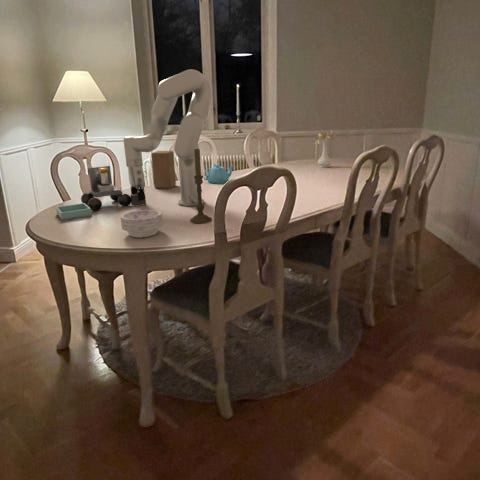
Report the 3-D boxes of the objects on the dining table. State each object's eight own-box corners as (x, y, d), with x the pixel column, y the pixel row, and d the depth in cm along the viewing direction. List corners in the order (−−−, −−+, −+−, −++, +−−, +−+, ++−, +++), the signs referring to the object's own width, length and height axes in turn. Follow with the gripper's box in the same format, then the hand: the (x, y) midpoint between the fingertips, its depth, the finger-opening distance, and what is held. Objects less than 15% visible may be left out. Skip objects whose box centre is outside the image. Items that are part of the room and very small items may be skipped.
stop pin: (111, 190, 202) (108, 168, 198) (102, 191, 200) (99, 169, 196) (108, 188, 205) (106, 167, 201) (100, 189, 203) (97, 168, 200)
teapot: (200, 183, 253) (199, 165, 250) (215, 178, 265) (214, 162, 262) (221, 185, 246) (220, 167, 243) (235, 180, 258) (234, 163, 254)
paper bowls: (150, 225, 172) (148, 206, 170) (171, 233, 162) (169, 213, 159) (115, 234, 163) (112, 214, 160) (135, 243, 152) (133, 222, 149)
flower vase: (308, 168, 293) (309, 130, 285) (323, 164, 306) (325, 128, 297) (324, 170, 284) (326, 131, 276) (339, 166, 297) (341, 129, 289)
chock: (146, 204, 207) (145, 194, 206) (134, 206, 204) (132, 195, 203) (143, 202, 211) (142, 192, 209) (131, 204, 208) (130, 194, 206)
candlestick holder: (203, 225, 171) (199, 149, 162) (185, 222, 176) (180, 148, 166) (216, 219, 179) (213, 146, 169) (198, 216, 183) (194, 145, 174)
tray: (91, 216, 189) (90, 208, 188) (62, 220, 183) (60, 212, 182) (85, 210, 199) (84, 203, 198) (57, 214, 193) (55, 207, 192)
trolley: (132, 205, 205) (128, 168, 199) (89, 212, 195) (83, 173, 189) (122, 199, 217) (118, 164, 212) (81, 205, 208) (76, 168, 202)
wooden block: (170, 188, 240) (167, 152, 233) (153, 188, 242) (150, 152, 235) (176, 185, 249) (173, 150, 243) (160, 185, 251) (157, 150, 245)
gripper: (148, 164, 196) (152, 200, 201) (136, 160, 210) (139, 194, 215) (132, 165, 192) (136, 203, 198) (120, 161, 206) (125, 196, 212)
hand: (138, 198), depth 207 cm, fingers open, 9 cm apart
